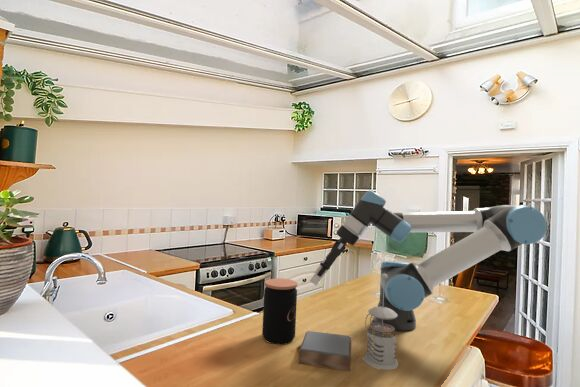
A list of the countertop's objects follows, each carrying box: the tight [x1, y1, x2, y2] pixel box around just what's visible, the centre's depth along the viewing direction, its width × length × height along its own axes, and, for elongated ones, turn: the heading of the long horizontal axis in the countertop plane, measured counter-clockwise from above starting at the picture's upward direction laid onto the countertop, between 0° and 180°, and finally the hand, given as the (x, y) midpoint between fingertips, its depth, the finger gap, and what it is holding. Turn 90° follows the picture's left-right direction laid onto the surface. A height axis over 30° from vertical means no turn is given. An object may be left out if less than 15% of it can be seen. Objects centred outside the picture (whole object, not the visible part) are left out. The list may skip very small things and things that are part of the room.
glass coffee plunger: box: [362, 274, 399, 371], centre depth 98 cm, size 10×12×25 cm
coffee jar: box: [261, 278, 298, 345], centre depth 109 cm, size 11×11×18 cm
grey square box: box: [298, 330, 352, 372], centre depth 98 cm, size 14×14×4 cm
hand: (315, 278), depth 119 cm, fingers open, 13 cm apart
